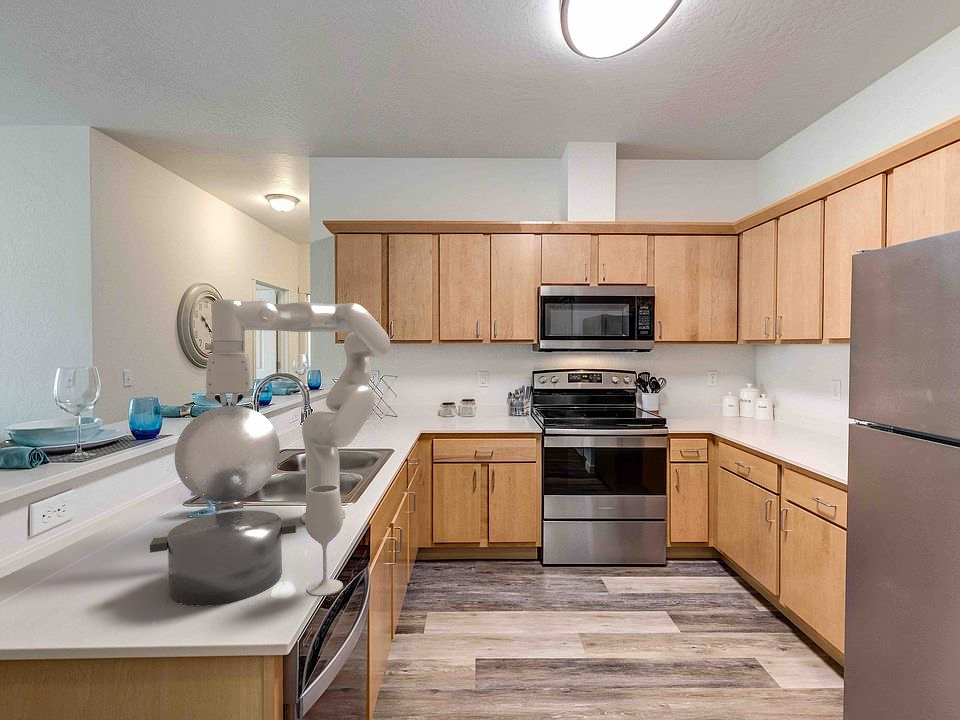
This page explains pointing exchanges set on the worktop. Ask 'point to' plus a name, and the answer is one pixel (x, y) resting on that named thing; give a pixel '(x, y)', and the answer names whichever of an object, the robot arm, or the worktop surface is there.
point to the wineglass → (324, 530)
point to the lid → (227, 455)
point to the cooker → (224, 556)
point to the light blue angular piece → (195, 513)
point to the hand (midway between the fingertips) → (229, 420)
